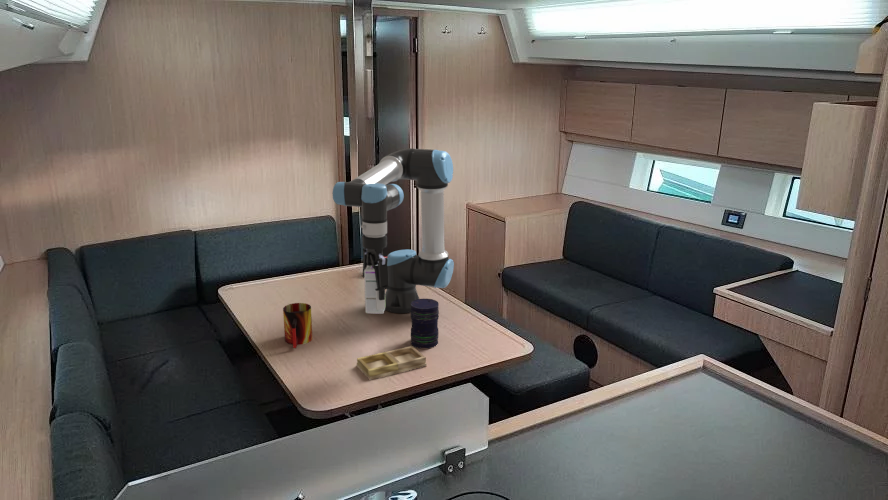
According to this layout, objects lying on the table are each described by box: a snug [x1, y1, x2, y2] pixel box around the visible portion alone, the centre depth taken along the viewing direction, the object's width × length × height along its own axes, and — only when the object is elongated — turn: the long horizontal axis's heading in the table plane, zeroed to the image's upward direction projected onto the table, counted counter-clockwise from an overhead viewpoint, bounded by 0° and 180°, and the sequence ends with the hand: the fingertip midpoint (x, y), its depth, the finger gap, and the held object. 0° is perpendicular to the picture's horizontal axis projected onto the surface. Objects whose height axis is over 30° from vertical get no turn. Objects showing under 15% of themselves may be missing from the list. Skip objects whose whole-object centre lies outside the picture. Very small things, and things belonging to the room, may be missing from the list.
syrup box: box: [364, 265, 386, 315], centre depth 202 cm, size 6×6×14 cm
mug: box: [282, 302, 313, 349], centre depth 227 cm, size 10×14×12 cm
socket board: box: [356, 345, 427, 381], centre depth 211 cm, size 20×11×3 cm, turn 120°
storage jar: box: [410, 298, 440, 349], centre depth 227 cm, size 10×10×15 cm
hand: (375, 304), depth 204 cm, fingers closed on syrup box, 7 cm apart
